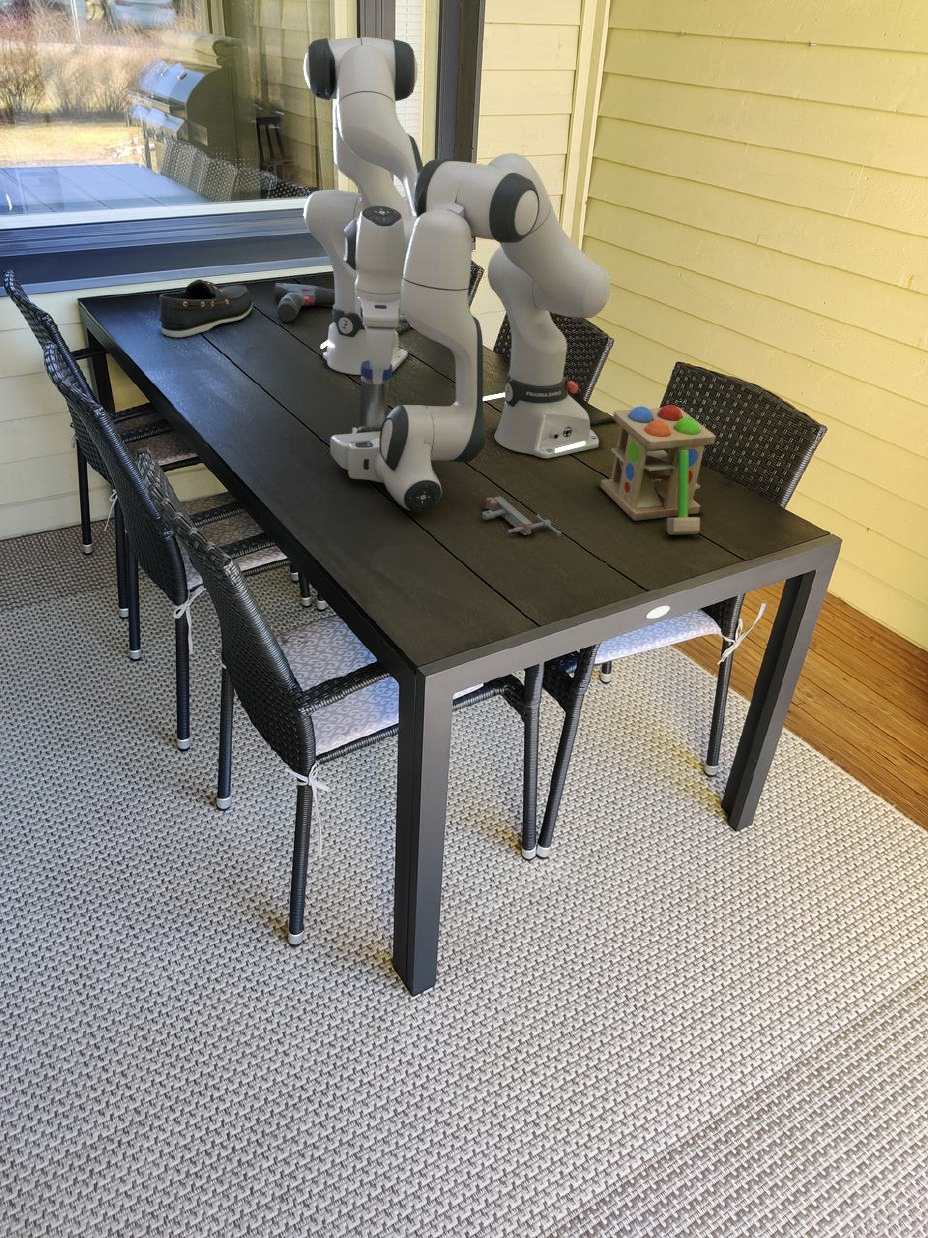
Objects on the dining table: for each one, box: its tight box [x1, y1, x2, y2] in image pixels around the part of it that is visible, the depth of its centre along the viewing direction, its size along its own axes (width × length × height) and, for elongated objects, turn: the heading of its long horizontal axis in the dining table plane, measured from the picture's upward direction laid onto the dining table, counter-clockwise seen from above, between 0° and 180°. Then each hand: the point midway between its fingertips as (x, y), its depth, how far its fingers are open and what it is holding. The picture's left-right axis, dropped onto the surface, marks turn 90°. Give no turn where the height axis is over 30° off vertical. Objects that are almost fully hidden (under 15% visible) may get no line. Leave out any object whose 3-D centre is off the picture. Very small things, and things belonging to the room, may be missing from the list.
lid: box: [360, 360, 394, 380], centre depth 187 cm, size 6×6×2 cm
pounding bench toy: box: [599, 404, 716, 536], centre depth 182 cm, size 23×14×18 cm, turn 20°
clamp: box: [481, 496, 563, 537], centre depth 177 cm, size 15×2×10 cm
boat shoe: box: [158, 278, 254, 338], centre depth 253 cm, size 13×33×10 cm, turn 147°
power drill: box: [274, 282, 335, 322], centre depth 265 cm, size 5×19×20 cm
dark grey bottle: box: [359, 375, 390, 433], centre depth 192 cm, size 5×5×18 cm
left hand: (376, 375), depth 188 cm, fingers closed on lid, 6 cm apart
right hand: (371, 429), depth 195 cm, fingers closed on dark grey bottle, 5 cm apart
